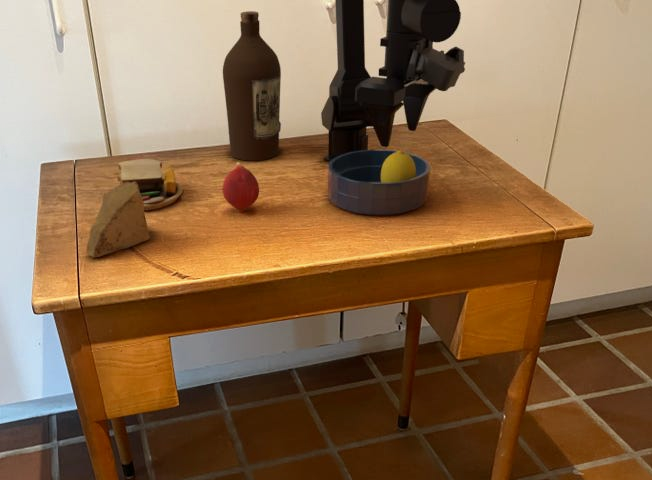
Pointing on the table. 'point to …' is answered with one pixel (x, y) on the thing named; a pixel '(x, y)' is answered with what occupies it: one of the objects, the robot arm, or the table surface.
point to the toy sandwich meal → (150, 182)
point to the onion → (240, 188)
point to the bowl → (375, 184)
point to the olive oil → (252, 94)
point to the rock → (118, 221)
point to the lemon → (398, 168)
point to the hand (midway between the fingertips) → (398, 138)
